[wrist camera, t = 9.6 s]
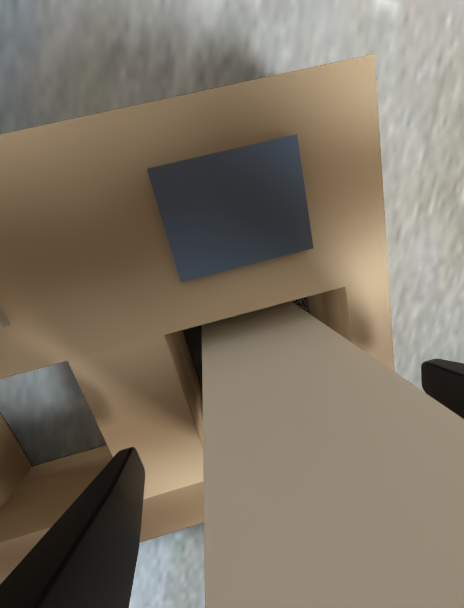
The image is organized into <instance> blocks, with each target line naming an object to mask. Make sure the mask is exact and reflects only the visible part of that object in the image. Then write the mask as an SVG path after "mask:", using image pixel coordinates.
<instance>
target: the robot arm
mask: <svg viewBox="0 0 464 608" xmlns="http://www.w3.org/2000/svg"><path fill="white" fill-rule="evenodd" d="M421 378H422V387H423V389H424V391H425V392H426V394H428V395H429V396H431V397H432V398H434V399H435V400H436V401H438V402H439V403H441V404H442V405H444V406H445V407H447V408H448V409H450V410H451V411H453V412H454V413H455V414H457V415H458V416H460V417H461V418H463V419H464V364H463V363H458V362H453V361H447V360H442V359H432V360H429V361H425V362H423V363H422V365H421ZM144 486H145V469H144V466H143V464H142V461H141V459H140V457H139V454H138V452H137V450H136V448H135V447H129V448H126V449H122V450H120V451H119V452H118V453H117V454H116V455H115V456H114V457H113V458H112V459H111V460H110V462H109V463H108V464H107V465H106V466H105V467H104V468H103V469H102V471H101V472H100V473H99V474H98V475H97V476H96V477H95V478H94V480H93V481H92V482H91V483H90V484H89V485H88V486H87V487H86V489H85V490H84V491H83V492H82V493H81V494H80V495H79V496H78V497H77V499H76V500H75V501H74V502H73V503H72V504H71V505H70V506H69V508H68V509H67V510H66V511H65V512H64V513H63V514H62V515H61V517H60V518H59V519H58V520H57V521H56V522H55V523H54V524H53V526H52V527H51V528H50V529H49V530H48V531H47V532H46V533H45V535H44V536H43V537H42V538H41V539H40V540H39V541H38V542H37V544H36V545H35V546H34V547H33V548H32V549H31V550H30V551H29V553H28V554H27V555H26V556H25V557H24V558H23V559H22V560H21V562H20V563H19V564H18V565H17V566H16V567H15V568H14V569H13V571H12V572H11V573H10V574H9V575H8V576H7V577H6V578H5V580H4V581H3V582H2V583H1V584H0V608H129V602H130V596H131V590H132V585H133V579H134V573H135V567H136V561H137V555H138V549H139V543H140V534H141V523H142V511H143V498H144Z"/></svg>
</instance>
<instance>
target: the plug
mask: <svg viewBox="0 0 464 608" xmlns="http://www.w3.org/2000/svg"><path fill="white" fill-rule="evenodd" d="M202 396H203V480H204V565H205V608H464V419H463V418H461V417H460V416H458V415H457V414H455V413H454V412H453V411H451V410H450V409H448V408H447V407H445V406H444V405H442V404H441V403H439V402H438V401H436V400H435V399H434V398H432V397H431V396H429V395H428V394H426V393H425V392H423V391H422V390H420V389H419V388H417V387H416V386H414V385H413V384H412V383H410V382H409V381H407V380H406V379H404V378H403V377H401V376H400V375H398V374H397V373H395V372H394V371H393V370H391V369H390V368H388V367H387V366H385V365H384V364H382V363H381V362H379V361H378V360H376V359H375V358H373V357H372V356H371V355H369V354H368V353H366V352H365V351H363V350H362V349H360V348H359V347H357V346H356V345H354V344H353V343H352V342H350V341H349V340H347V339H346V338H344V337H343V336H341V335H340V334H338V333H337V332H335V331H334V330H332V329H331V328H330V327H328V326H327V325H325V324H324V323H322V322H321V321H319V320H318V319H316V318H315V317H313V316H312V315H311V314H309V313H308V312H306V311H305V310H303V309H302V308H300V307H299V306H297V305H296V304H294V303H293V302H291V301H289V302H285V303H282V304H278V305H274V306H271V307H267V308H263V309H259V310H256V311H252V312H248V313H244V314H241V315H237V316H233V317H229V318H226V319H222V320H218V321H214V322H211V323H207V324H203V325H202Z"/></svg>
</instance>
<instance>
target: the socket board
mask: <svg viewBox="0 0 464 608" xmlns="http://www.w3.org/2000/svg"><path fill="white" fill-rule="evenodd" d="M304 297H307V301H308V308H309V314H311V315H312V316H313V317H315V318H316V319H318V320H319V321H321V322H322V323H324V324H325V325H327V326H328V327H330V328H331V329H332V330H334V331H335V332H337V333H338V334H340V335H341V336H343V337H344V338H346V339H347V340H349V341H350V342H352V343H353V344H354V345H356V346H357V347H359V348H360V349H362V350H363V351H365V352H366V353H368V354H369V355H371V356H372V357H373V358H375V359H376V360H378V361H379V362H381V363H382V364H384V365H385V366H387V367H388V368H390V369H391V370H393V371H394V372H395V369H394V354H393V338H392V322H391V306H390V290H389V275H388V259H387V243H386V227H385V211H384V196H383V180H382V164H381V148H380V132H379V117H378V101H377V85H376V69H375V54H371V55H366V56H362V57H357V58H352V59H348V60H343V61H338V62H334V63H329V64H324V65H320V66H315V67H311V68H306V69H301V70H297V71H292V72H287V73H283V74H278V75H273V76H269V77H264V78H259V79H255V80H250V81H245V82H241V83H236V84H232V85H227V86H222V87H218V88H213V89H208V90H204V91H199V92H194V93H190V94H185V95H180V96H176V97H171V98H166V99H162V100H157V101H153V102H148V103H143V104H139V105H134V106H129V107H125V108H120V109H115V110H111V111H106V112H101V113H97V114H92V115H87V116H83V117H78V118H74V119H69V120H64V121H60V122H55V123H50V124H46V125H41V126H36V127H32V128H27V129H22V130H18V131H13V132H8V133H4V134H0V379H1V378H5V377H9V376H13V375H16V374H20V373H24V372H28V371H31V370H35V369H39V368H42V367H46V366H50V365H54V364H57V363H61V362H65V361H68V363H69V365H70V367H71V369H72V371H73V374H74V376H75V378H76V380H77V382H78V384H79V386H80V388H81V391H82V393H83V395H84V397H85V399H86V401H87V403H88V405H89V408H90V410H91V412H92V414H93V416H94V418H95V420H96V422H97V424H98V427H99V429H100V431H101V433H102V435H103V437H104V439H105V441H106V444H107V445H105V446H101V447H98V448H94V449H91V450H88V451H84V452H81V453H77V454H74V455H70V456H67V457H63V458H60V459H56V460H53V461H49V462H46V463H42V464H39V465H35V466H32V465H31V464H30V462H29V460H28V459H27V457H26V455H25V454H24V452H23V450H22V448H21V447H20V445H19V443H18V442H17V440H16V438H15V437H14V435H13V433H12V432H11V430H10V428H9V427H8V425H7V423H6V422H5V420H4V418H3V417H2V415H1V413H0V584H1V583H2V582H3V581H4V580H5V578H6V577H7V576H8V575H9V574H10V573H11V572H12V571H13V569H14V568H15V567H16V566H17V565H18V564H19V563H20V562H21V560H22V559H23V558H24V557H25V556H26V555H27V554H28V553H29V551H30V550H31V549H32V548H33V547H34V546H35V545H36V544H37V542H38V541H39V540H40V539H41V538H42V537H43V536H44V535H45V533H46V532H47V531H48V530H49V529H50V528H51V527H52V526H53V524H54V523H55V522H56V521H57V520H58V519H59V518H60V517H61V515H62V514H63V513H64V512H65V511H66V510H67V509H68V508H69V506H70V505H71V504H72V503H73V502H74V501H75V500H76V499H77V497H78V496H79V495H80V494H81V493H82V492H83V491H84V490H85V489H86V487H87V486H88V485H89V484H90V483H91V482H92V481H93V480H94V478H95V477H96V476H97V475H98V474H99V473H100V472H101V471H102V469H103V468H104V467H105V466H106V465H107V464H108V463H109V462H110V460H111V459H112V458H113V457H114V456H115V455H116V454H117V453H118V452H119V451H120V450H122V449H126V448H129V447H135V448H136V450H137V452H138V454H139V457H140V459H141V461H142V464H143V466H144V469H145V486H144V498H143V511H142V523H141V534H140V542H143V541H146V540H149V539H153V538H156V537H159V536H162V535H165V534H169V533H172V532H175V531H178V530H181V529H185V528H188V527H191V526H194V525H197V524H201V523H204V480H203V396H202V389H201V386H200V383H199V380H198V377H197V374H196V370H195V367H194V364H193V361H192V358H191V355H190V351H189V348H188V345H187V342H186V339H185V336H184V332H183V330H185V329H188V328H192V327H196V326H200V325H203V324H207V323H211V322H214V321H218V320H222V319H226V318H229V317H233V316H237V315H241V314H244V313H248V312H252V311H256V310H259V309H263V308H267V307H271V306H274V305H278V304H282V303H285V302H289V301H293V300H297V299H300V298H304Z"/></svg>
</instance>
